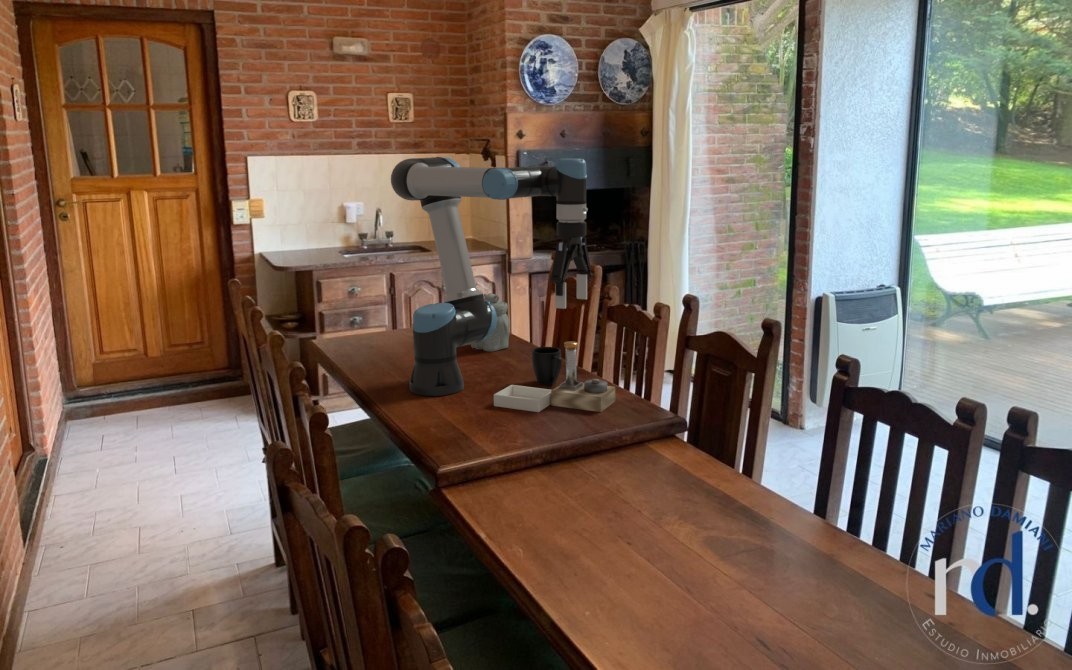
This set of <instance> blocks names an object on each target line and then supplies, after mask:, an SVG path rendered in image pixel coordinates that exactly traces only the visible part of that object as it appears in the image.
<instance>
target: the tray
mask: <svg viewBox="0 0 1072 670" xmlns="http://www.w3.org/2000/svg"><path fill="white" fill-rule="evenodd" d="M551 390H552V389H549V388H548V389H547V388H540V387H532V386H524V385H517V384H510V385H508V386H507V387H505V388H504V389H501V390H499V391H497V392H496V393H494V394H493V406H494V407H500V408H507V409H513V410H518V411H519V410H520V411H521V410H522V411H529V412H535V413H539V412H540V413H541V411H543V410H544V409H546V408H548V407H550V405H551Z"/></svg>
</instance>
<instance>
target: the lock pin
mask: <svg viewBox="0 0 1072 670" xmlns="http://www.w3.org/2000/svg"><path fill="white" fill-rule="evenodd" d="M578 346H579V343H578V342H577V341H575V340H574V341H570V340H569V341H564V342H563V347H564V348H565V381H566V385H569V386H576V381H577V348H578Z"/></svg>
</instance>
